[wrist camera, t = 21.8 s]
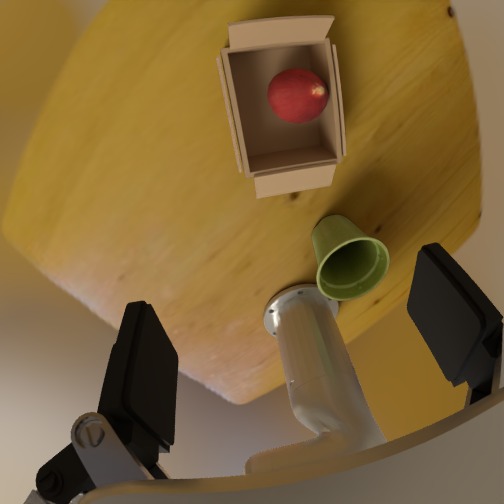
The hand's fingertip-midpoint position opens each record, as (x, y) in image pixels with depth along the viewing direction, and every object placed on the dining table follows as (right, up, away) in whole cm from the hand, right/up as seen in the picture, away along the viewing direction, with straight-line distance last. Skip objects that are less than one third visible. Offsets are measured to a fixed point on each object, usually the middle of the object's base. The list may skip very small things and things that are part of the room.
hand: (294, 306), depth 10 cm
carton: (+1, +19, +20) cm, 28 cm away
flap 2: (+3, +9, +21) cm, 23 cm away
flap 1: (+1, +20, +10) cm, 22 cm away
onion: (+1, +18, +20) cm, 27 cm away
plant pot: (+10, +4, +31) cm, 33 cm away
